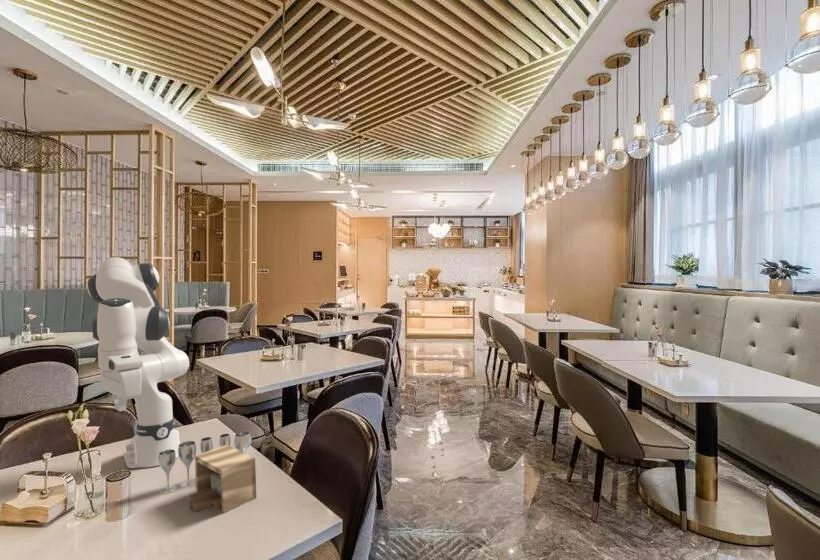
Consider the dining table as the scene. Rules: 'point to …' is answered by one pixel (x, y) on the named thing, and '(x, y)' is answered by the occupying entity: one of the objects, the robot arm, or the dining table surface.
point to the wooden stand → (227, 475)
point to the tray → (208, 495)
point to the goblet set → (189, 451)
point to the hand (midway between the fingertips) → (120, 410)
